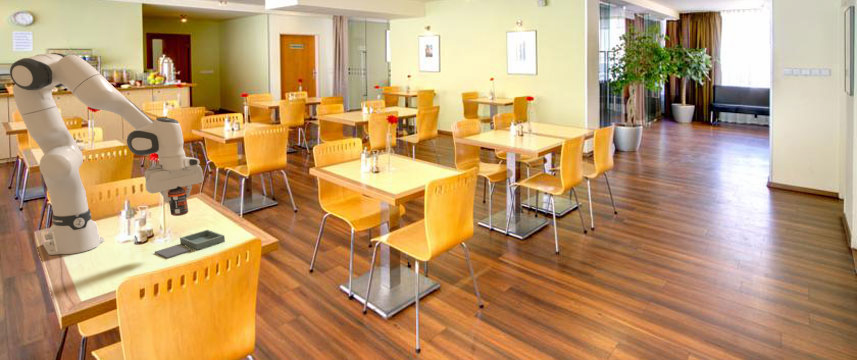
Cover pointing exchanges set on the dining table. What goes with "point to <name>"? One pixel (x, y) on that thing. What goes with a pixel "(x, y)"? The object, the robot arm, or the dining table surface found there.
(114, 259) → the dining table surface
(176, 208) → the supplement bottle
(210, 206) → the dining table surface
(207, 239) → the tray
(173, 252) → the mat
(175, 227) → the dining table surface
